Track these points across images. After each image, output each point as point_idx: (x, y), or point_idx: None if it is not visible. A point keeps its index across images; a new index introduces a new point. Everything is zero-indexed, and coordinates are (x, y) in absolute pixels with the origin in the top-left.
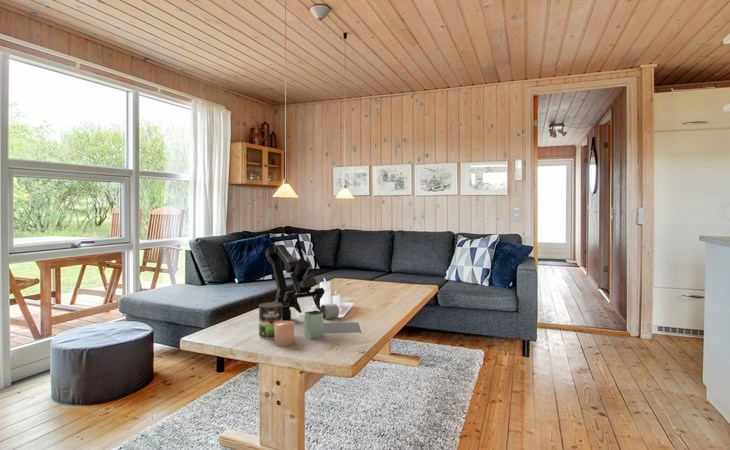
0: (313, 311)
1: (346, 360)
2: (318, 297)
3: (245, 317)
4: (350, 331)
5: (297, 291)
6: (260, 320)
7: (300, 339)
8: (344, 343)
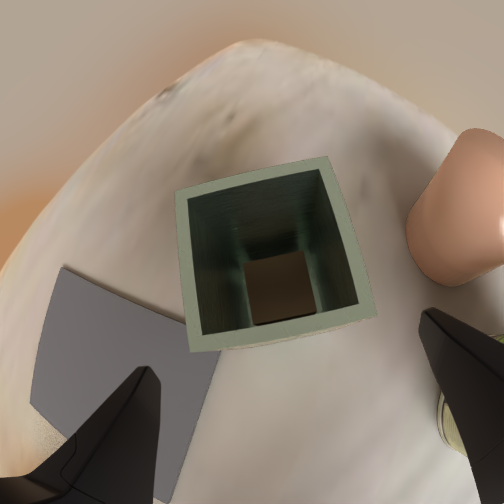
0: (245, 329)
1: (242, 54)
2: (45, 486)
3: None
4: (82, 296)
5: None
6: None
7: None
8: (173, 164)
